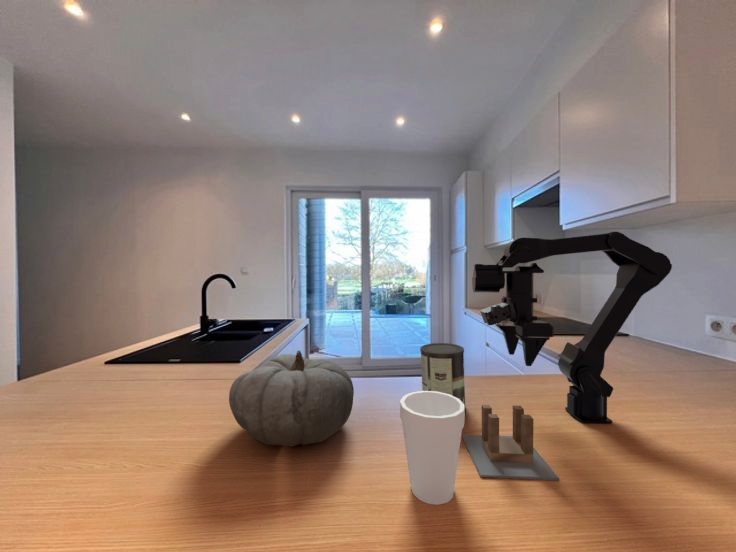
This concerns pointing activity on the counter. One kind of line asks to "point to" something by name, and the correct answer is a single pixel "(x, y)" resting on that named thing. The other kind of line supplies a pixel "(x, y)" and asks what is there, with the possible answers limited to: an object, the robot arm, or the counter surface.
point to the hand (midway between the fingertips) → (519, 359)
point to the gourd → (292, 400)
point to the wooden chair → (508, 448)
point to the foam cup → (432, 443)
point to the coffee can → (443, 369)
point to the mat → (507, 463)
